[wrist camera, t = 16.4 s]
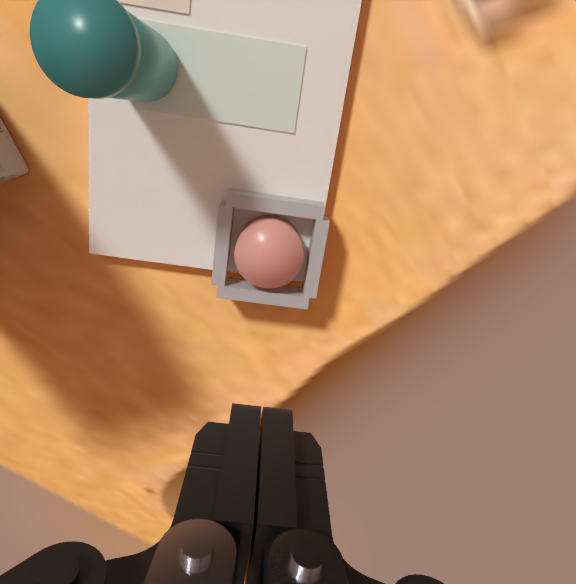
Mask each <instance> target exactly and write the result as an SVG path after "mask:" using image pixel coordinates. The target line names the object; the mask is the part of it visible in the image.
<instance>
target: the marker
mask: <svg viewBox="0 0 576 584" xmlns="http://www.w3.org/2000/svg"><path fill="white" fill-rule="evenodd" d="M30 39H31V45H32V49H33V52H34V55H35V57H36V60H37V62H38V64H39V65H40V67H41V69H42V70H43V72H44V73H45V74H46V75H47V77H48V78H49V79H50V80H51V81H52V82H53V83H54V84H56V85H57V86H58V87H59V88H61V89H63V90H64V91H66V92H68V93H70V94H72V95H75V96H79V97H83V98H92V99H105V98H114V99H123V100H131V101H140V102H153V101H157V100H159V99H161V98H163V97H164V96H166V95H167V94H168V93H169V92H170V90H171V89H172V87H173V85H174V83H175V81H176V77H177V60H176V56H175V53H174V51H173V49H172V47H171V45H170V44H169V42H168V41H167V40H166V39H165V38H164V37H163V36H162V35H161V34H159V33H158V32H156V31H155V30H154V29H152V28H151V27H149V26H148V25H147V24H145V23H144V22H142V21H141V20H139V19H138V18H137V17H135V16H134V15H132V14H131V13H130V12H128V11H127V10H126V9H125V8H124V7H123V5H121V4H120V3H119V2H118V1H117V0H39V1H38V2H37V4H36V6H35V8H34V10H33V13H32V17H31V23H30Z"/></svg>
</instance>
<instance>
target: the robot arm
mask: <svg viewBox="0 0 576 584" xmlns="http://www.w3.org/2000/svg"><path fill="white" fill-rule="evenodd" d="M260 417H261V407H260V406H251V405H243V404H234V403H232V409H231V415H230V421H229V424H224V423H215V422H207V423H206V424H205V426H204V427H203V428H202V429H201V430H200V431H199V432H198V433H197V434H196V436H195V440H194V443H193V447H192V451H191V455H190V459H189V462H188V467H187V470H186V474H185V477H184V481H183V485H182V489H181V493H180V496H179V500H178V504H177V508H176V512H175V515H174V519H173V522H172V525H171V527H170V529H169V530H168V531H167V532H166V533H165V534H164V536H163V537H162V538H161V540H160V541H159V542H158V543H156V544H155V545H154V546H152V547H150V548H149V549H147V550H145V551H143V552H140V553H137V554H134V555H130V556H125V557H121V558H115V559H111V560H106V561H105V559H104V557H103V555H102V554H101V553H100V551H98V550H97V549H96V548H95V547H93V546H91V545H89V544H86V543H83V542H63V543H59V544H55V545H52V546H49V547H47V548H45V549H43V550H41V551H39V552H37V553H36V554H34V555H33V556H31V557H29V558H28V559H26V560H25V561H23V562H21V563H20V564H18V565H17V566H15V567H13V568H12V569H10V570H9V571H7V572H5V573H4V574H2V575H1V576H0V584H244V581H245V584H384V583H382V582H379V581H377V580H375V579H372V578H370V577H367V576H365V575H363V574H361V573H360V572H358V571H356V570H355V569H353V568H352V567H351V566H350V565H349V564H348V563H347V562H346V561H345V560H344V559H343V558H342V555H341V553H340V551H339V550H338V548H337V547H336V545H335V544H334V542H333V537H332V531H331V524H330V515H329V507H328V499H327V491H326V483H325V475H324V468H323V459H322V451H321V447H320V446H319V445H318V443H317V441H316V440H315V438H314V437H313V435H312V434H311V433H306V432H297V431H293V416H292V410H287V409H279V408H270V407H263V411H262V417H261V423H260ZM245 575H246V577H245ZM396 584H444V583H442V582H441V581H439V580H437V579H434V578H432V577H429V576H425V575H408V576H406V577H403V578H401V579H400V580H398V582H397V583H396Z"/></svg>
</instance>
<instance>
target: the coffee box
mask: <svg viewBox="0 0 576 584" xmlns="http://www.w3.org/2000/svg"><path fill="white" fill-rule="evenodd" d="M28 172H29V170H28V167H27V165H26V163H25V161H24V159H23V157H22V156H21V154H20V152H19V150H18V148H17V147H16V145H15V143H14V141H13V139H12V138H11V136H10V134H9V132H8V130H7V128H6V127H5V125H4V123H3V121H2V119H1V118H0V183H3V182H6V181H8V180H11V179H14V178H16V177H19V176H22V175H24V174H27V173H28Z"/></svg>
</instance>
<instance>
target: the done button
mask: <svg viewBox="0 0 576 584" xmlns="http://www.w3.org/2000/svg"><path fill="white" fill-rule="evenodd" d="M303 257H304V255H303V247H302V241H301V237H300V234H299V232H298V231H297V229H296V228H295V226H294V225H293V224H292V223H291V222H289V221H288V220H286V219H284V218H282V217H280V216H276V215H263V216H259V217H256V218H254V219H252V220H251V221H249V222H248V223H247V224H246V225H245V226H244V227H243V229H242V230H241V232H240V234H239V237H238V240H237V243H236V246H235V251H234V258H235V263H236V266H237V269H238V271H239V272H240V274H241V275H242V276H243V277H244V279H246V280H247V281H248V282H249V283H251V284H253V285H255V286H258V287H261V288H278V287H281V286H283V285H286V284H287V283H289V282H290V281H292V280H293V279H294V278H295V277H296V276H297V274H298V273H299V271H300V269H301V267H302V263H303Z"/></svg>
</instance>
